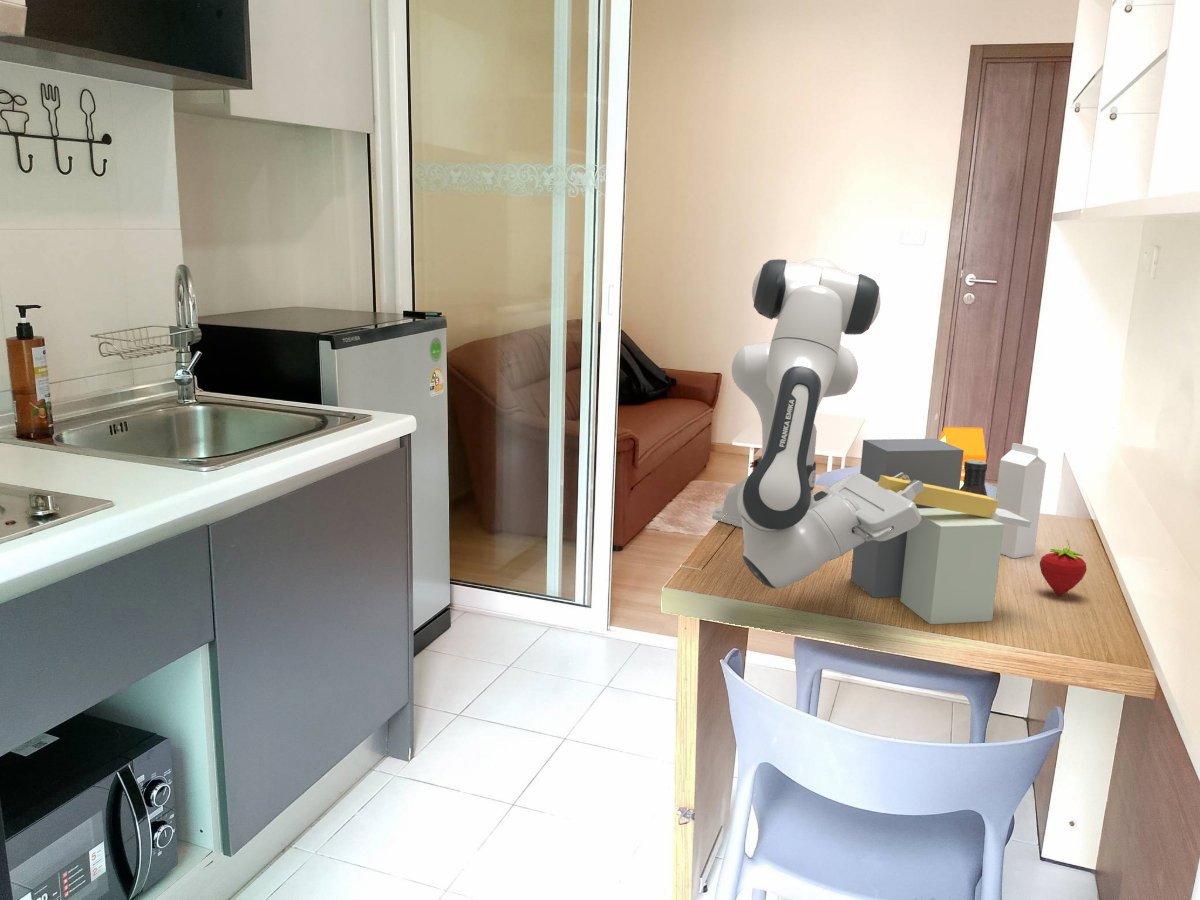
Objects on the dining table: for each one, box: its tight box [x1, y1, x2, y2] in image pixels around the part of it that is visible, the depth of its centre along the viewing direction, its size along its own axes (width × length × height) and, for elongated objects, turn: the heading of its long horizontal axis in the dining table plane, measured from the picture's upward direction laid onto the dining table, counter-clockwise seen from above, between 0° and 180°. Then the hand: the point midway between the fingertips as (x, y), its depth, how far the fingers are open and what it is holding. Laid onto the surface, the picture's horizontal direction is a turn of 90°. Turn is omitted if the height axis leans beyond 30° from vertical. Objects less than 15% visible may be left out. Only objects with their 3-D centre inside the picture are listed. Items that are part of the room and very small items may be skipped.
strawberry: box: [1039, 539, 1087, 596], centre depth 167 cm, size 6×8×10 cm
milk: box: [995, 442, 1047, 559], centre depth 189 cm, size 6×6×22 cm
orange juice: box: [938, 426, 987, 490], centre depth 216 cm, size 8×9×20 cm
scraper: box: [878, 475, 1031, 528], centre depth 155 cm, size 26×7×3 cm, turn 101°
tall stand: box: [850, 438, 964, 599], centre depth 167 cm, size 14×9×26 cm, turn 101°
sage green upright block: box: [899, 508, 1004, 625], centre depth 158 cm, size 11×10×16 cm
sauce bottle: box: [959, 460, 988, 496], centre depth 183 cm, size 7×6×20 cm
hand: (913, 480), depth 153 cm, fingers closed on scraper, 3 cm apart
